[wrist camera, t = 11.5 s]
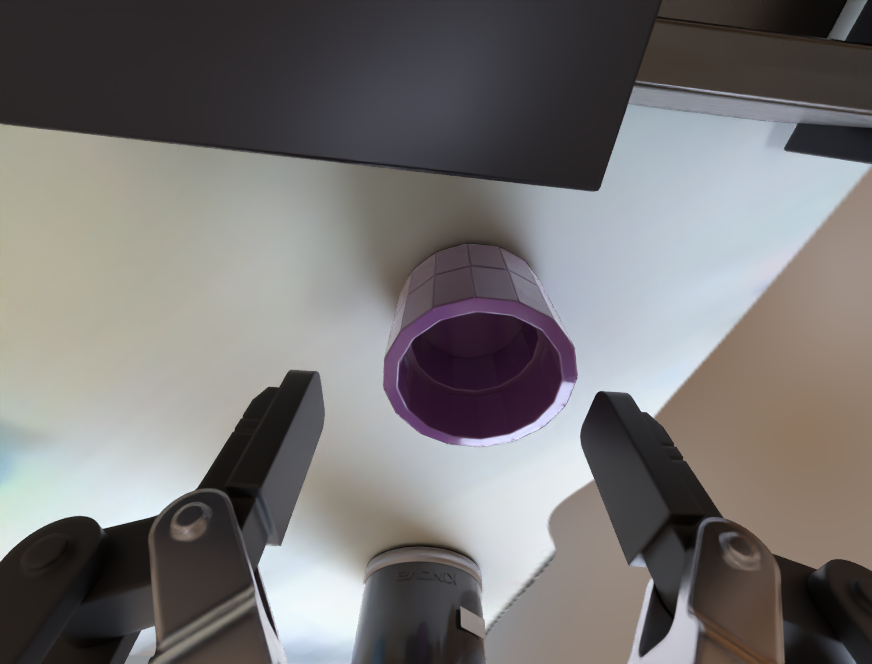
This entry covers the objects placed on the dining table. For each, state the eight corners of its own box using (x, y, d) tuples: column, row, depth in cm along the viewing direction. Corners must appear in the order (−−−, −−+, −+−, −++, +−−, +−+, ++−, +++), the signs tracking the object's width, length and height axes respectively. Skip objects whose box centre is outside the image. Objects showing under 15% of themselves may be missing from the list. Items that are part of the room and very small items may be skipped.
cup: (522, 369, 18) (546, 453, 13) (397, 357, 17) (381, 439, 13) (559, 248, 14) (606, 310, 10) (403, 231, 14) (385, 287, 10)
